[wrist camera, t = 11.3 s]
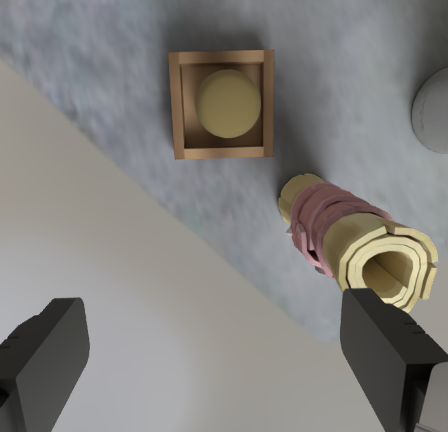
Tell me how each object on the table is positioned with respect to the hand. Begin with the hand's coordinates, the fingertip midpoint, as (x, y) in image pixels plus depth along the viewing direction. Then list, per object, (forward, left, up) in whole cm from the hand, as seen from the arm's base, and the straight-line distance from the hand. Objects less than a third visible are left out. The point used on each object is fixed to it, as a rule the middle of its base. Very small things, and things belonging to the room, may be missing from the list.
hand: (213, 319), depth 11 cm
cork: (-1, -7, -30) cm, 30 cm away
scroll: (-10, +4, -30) cm, 32 cm away
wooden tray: (-1, -7, -30) cm, 31 cm away
